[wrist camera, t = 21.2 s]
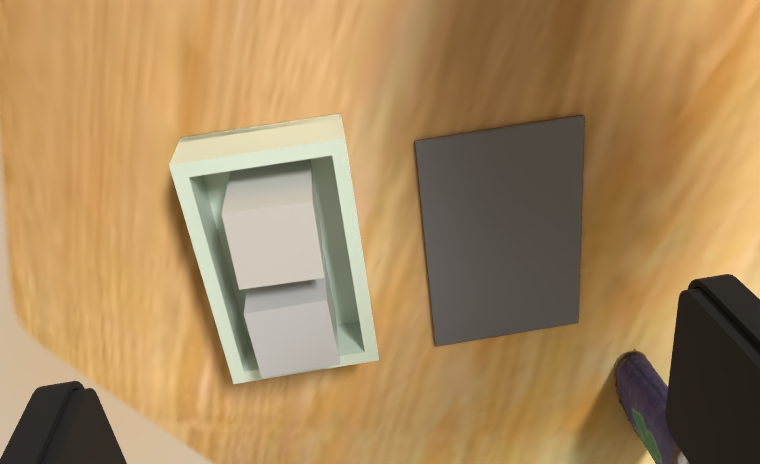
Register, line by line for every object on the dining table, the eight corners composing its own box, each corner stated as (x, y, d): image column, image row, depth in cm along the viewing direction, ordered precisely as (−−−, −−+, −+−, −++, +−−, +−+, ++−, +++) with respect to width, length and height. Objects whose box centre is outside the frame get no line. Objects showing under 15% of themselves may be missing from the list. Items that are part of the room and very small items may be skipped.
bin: (340, 113, 38) (345, 138, 34) (372, 321, 45) (379, 360, 41) (180, 137, 37) (168, 165, 34) (238, 343, 45) (233, 384, 41)
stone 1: (310, 159, 38) (312, 201, 33) (321, 228, 40) (324, 277, 35) (230, 169, 38) (221, 213, 33) (245, 238, 40) (238, 289, 35)
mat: (582, 114, 39) (584, 116, 39) (576, 320, 47) (578, 322, 46) (414, 140, 39) (415, 142, 39) (435, 343, 46) (435, 346, 46)
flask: (667, 427, 53) (747, 548, 44) (632, 440, 53) (703, 563, 44) (644, 343, 49) (726, 457, 39) (605, 358, 49) (678, 475, 39)
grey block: (323, 249, 41) (327, 300, 36) (335, 309, 43) (340, 364, 38) (249, 261, 41) (243, 314, 36) (265, 320, 43) (261, 378, 38)
